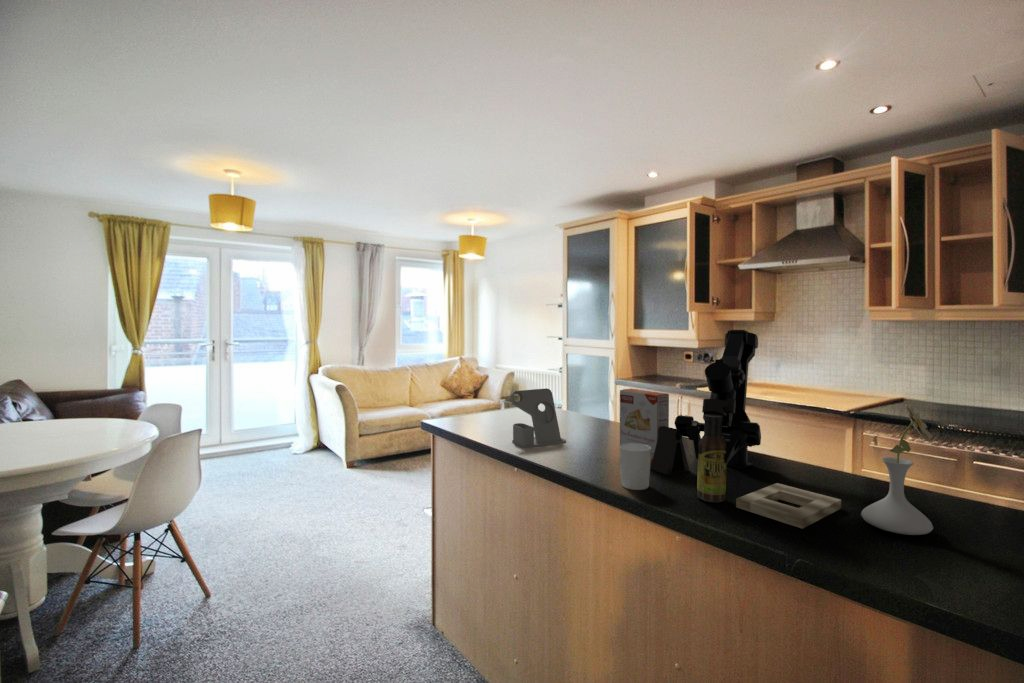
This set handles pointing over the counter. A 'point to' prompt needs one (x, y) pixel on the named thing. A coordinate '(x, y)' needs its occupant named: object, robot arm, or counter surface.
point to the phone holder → (536, 419)
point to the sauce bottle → (712, 461)
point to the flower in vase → (899, 491)
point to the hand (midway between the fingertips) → (711, 460)
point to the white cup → (635, 465)
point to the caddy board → (800, 517)
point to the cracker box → (642, 416)
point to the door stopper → (669, 453)
